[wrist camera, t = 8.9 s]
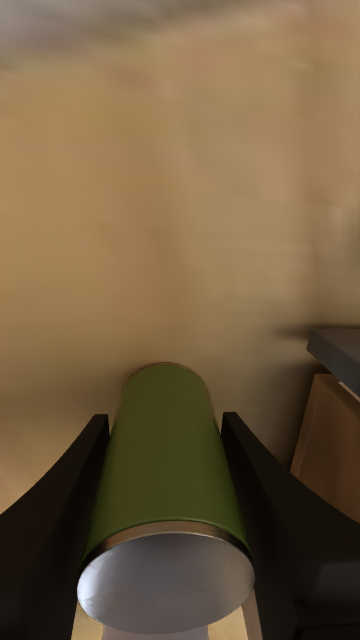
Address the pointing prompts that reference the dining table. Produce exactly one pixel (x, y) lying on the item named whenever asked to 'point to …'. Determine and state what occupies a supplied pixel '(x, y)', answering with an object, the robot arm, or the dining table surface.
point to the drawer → (332, 422)
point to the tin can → (165, 513)
